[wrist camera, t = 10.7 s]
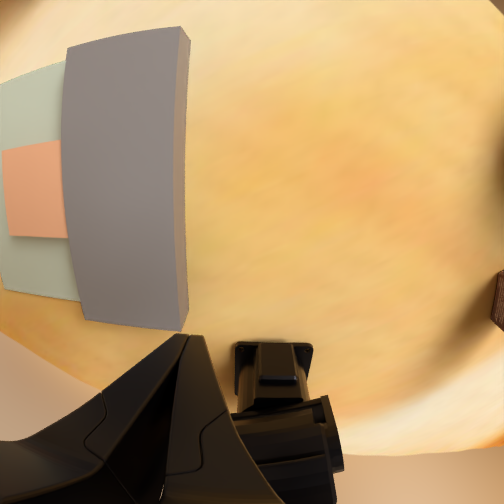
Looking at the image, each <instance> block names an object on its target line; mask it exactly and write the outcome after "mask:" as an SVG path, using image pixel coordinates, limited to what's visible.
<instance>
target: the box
mask: <svg viewBox="0 0 504 504" xmlns="http://www.w3.org/2000/svg"><path fill="white" fill-rule="evenodd" d="M491 320H492V321H493V322H494V323H495V324H496V325H497V326H498V327H499V328H500V329H501V330H502V331H504V271H502V272H499V275H498V283H497V290H496V295H495V301H494V306H493V311H492V316H491Z"/></svg>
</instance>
